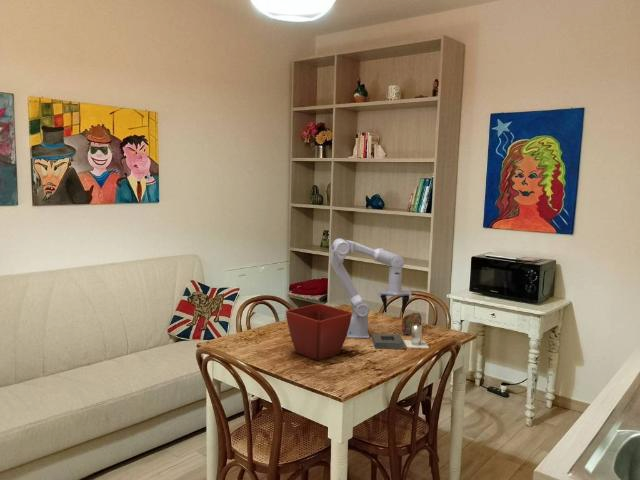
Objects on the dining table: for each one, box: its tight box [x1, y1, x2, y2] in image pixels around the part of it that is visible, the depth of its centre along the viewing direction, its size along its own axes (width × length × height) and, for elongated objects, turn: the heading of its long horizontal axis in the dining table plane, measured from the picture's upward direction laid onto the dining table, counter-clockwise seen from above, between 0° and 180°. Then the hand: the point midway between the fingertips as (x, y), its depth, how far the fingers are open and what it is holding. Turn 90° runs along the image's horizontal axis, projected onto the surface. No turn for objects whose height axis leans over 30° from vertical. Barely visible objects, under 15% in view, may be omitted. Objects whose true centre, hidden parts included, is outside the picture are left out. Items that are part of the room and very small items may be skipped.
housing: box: [371, 333, 405, 350], centre depth 216 cm, size 12×12×2 cm
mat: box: [403, 339, 430, 349], centre depth 216 cm, size 9×9×1 cm
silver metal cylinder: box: [411, 324, 423, 346], centre depth 215 cm, size 4×4×8 cm
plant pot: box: [285, 303, 353, 361], centre depth 202 cm, size 19×19×17 cm
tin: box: [401, 312, 422, 336], centre depth 234 cm, size 15×3×8 cm, turn 143°
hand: (394, 312), depth 228 cm, fingers open, 7 cm apart
